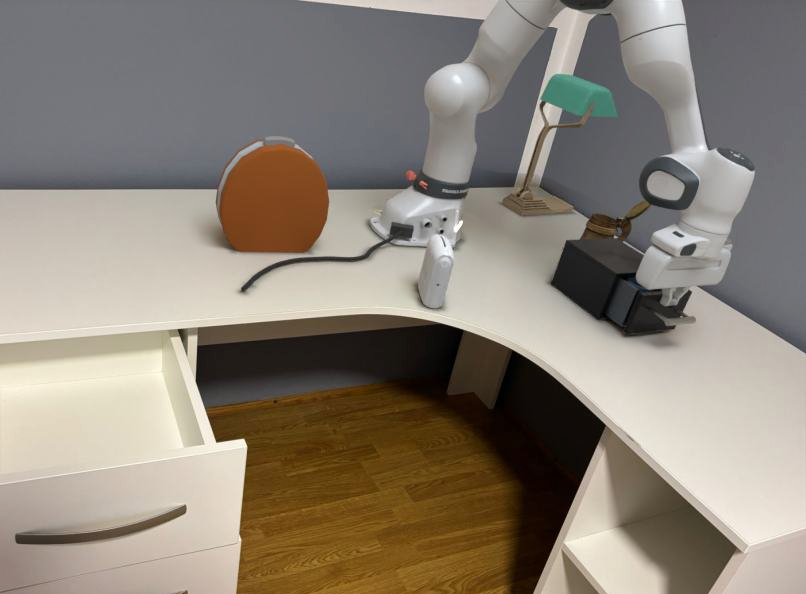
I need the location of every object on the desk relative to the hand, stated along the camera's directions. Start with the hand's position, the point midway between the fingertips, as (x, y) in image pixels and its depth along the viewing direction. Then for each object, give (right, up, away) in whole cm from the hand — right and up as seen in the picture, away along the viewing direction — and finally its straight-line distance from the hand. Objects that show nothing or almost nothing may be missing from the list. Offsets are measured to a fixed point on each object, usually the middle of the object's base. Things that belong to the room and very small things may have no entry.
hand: (667, 304), depth 136 cm
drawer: (-3, -3, +8) cm, 9 cm away
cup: (-4, -1, +9) cm, 10 cm away
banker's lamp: (-8, +31, +62) cm, 70 cm away
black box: (-8, +2, +16) cm, 18 cm away
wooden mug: (-2, +12, +34) cm, 36 cm away
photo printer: (-46, +2, +4) cm, 46 cm away
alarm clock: (-80, +14, +13) cm, 82 cm away
